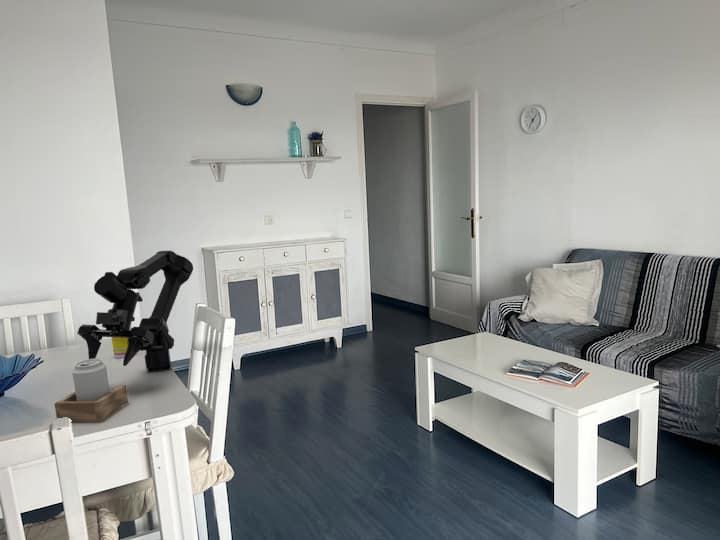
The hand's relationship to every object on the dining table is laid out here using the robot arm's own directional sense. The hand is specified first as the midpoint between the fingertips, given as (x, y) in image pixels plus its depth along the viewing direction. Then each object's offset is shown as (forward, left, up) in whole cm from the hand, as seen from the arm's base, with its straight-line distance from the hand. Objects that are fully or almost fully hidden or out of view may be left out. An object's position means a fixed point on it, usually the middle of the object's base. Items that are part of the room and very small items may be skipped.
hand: (107, 364), depth 144 cm
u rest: (+3, +10, -9) cm, 13 cm away
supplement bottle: (+3, -41, -9) cm, 43 cm away
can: (+2, +9, -8) cm, 12 cm away
